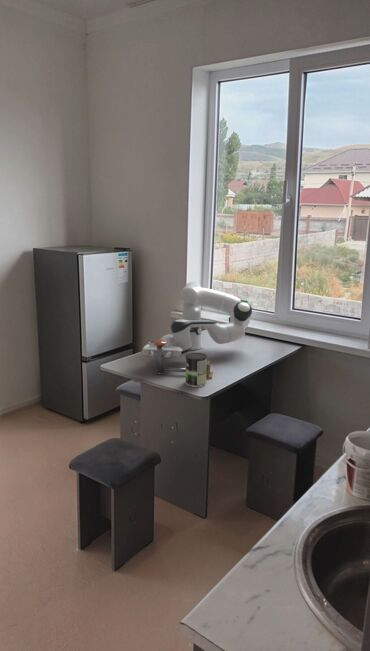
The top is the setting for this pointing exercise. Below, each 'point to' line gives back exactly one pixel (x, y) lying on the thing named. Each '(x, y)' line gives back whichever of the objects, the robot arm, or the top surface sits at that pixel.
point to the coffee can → (196, 369)
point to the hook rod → (160, 359)
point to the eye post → (208, 371)
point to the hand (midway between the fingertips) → (159, 355)
